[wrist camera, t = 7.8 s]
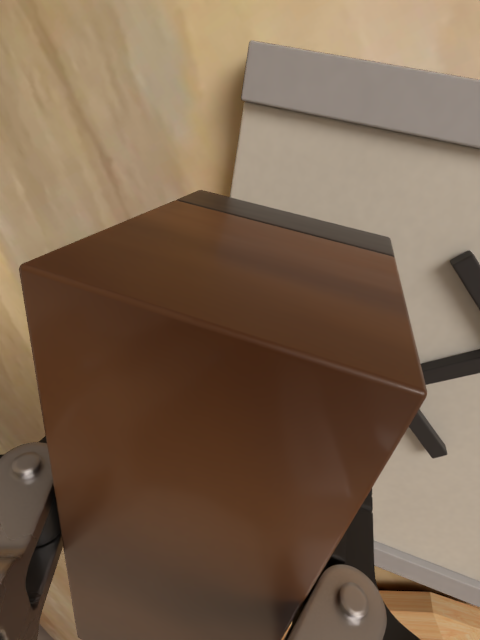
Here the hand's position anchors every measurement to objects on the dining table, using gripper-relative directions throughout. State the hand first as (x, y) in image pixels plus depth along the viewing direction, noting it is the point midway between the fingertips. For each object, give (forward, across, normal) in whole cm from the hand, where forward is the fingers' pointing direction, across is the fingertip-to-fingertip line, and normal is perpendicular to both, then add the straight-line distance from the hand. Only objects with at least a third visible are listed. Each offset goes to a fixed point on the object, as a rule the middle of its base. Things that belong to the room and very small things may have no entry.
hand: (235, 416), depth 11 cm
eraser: (+1, 0, 0) cm, 1 cm away
